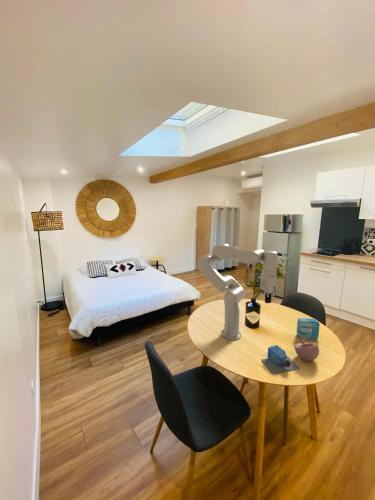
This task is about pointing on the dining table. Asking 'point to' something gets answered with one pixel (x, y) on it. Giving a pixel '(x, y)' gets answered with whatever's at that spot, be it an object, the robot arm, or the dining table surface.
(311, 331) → the data package
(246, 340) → the dining table surface
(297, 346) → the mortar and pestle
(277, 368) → the slate mat
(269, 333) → the dining table surface
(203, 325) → the dining table surface
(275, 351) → the perfume bottle
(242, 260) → the robot arm
